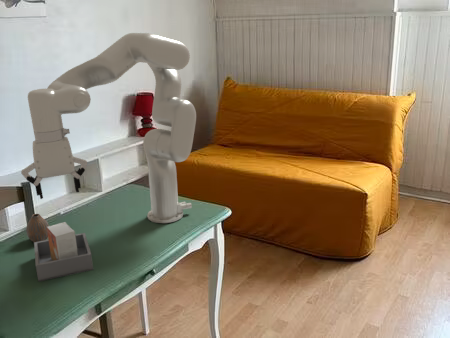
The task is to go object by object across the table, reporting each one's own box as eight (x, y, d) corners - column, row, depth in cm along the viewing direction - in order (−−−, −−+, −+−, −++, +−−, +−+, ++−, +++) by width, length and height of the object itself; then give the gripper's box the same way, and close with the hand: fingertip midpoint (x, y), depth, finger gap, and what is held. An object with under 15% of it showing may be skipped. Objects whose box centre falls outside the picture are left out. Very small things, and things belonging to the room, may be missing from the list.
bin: (86, 247, 143) (84, 232, 142) (93, 269, 131) (91, 254, 129) (36, 257, 138) (34, 242, 136) (38, 281, 125) (35, 265, 124)
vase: (43, 245, 145) (39, 220, 142) (23, 244, 146) (19, 219, 143) (55, 235, 151) (51, 211, 148) (36, 234, 153) (32, 210, 150)
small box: (51, 258, 136) (45, 226, 132) (69, 252, 139) (65, 221, 136) (60, 270, 130) (54, 236, 126) (79, 263, 133) (74, 230, 129)
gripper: (80, 128, 131) (89, 184, 136) (14, 136, 124) (26, 195, 130) (84, 134, 124) (92, 192, 130) (14, 143, 118) (27, 204, 123)
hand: (59, 193), depth 130 cm, fingers open, 9 cm apart
